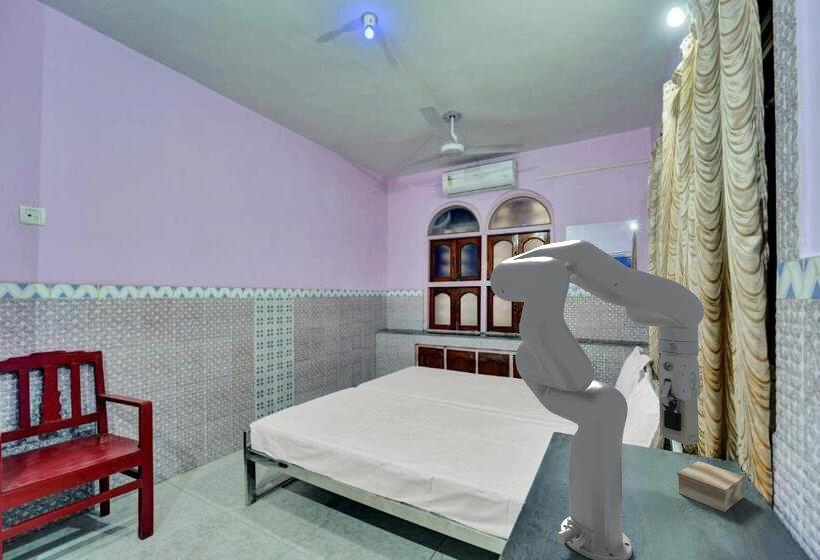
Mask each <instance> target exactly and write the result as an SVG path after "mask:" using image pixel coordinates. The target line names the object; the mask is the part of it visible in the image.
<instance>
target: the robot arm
mask: <svg viewBox="0 0 820 560" xmlns="http://www.w3.org/2000/svg"><path fill="white" fill-rule="evenodd" d="M489 280H490V289H491V290H492V292H493V294H494V295H495V296H497V298H499V299H501V300H503V301H506V302H512V303H513V302H517V303H518V302H519V303H523V306H522V312H521V315H520V316H521V317H520V321H519V334H520V339H521V340H522V342H521V343H520V344H519V346H518V347H517V348H516V352H515V366H516V369H517V372H518V374H519V376H520V378H521V379H522V381H524V382H525V385H526V386H527V387H528V388H529V389H530V391H531V392H532V393H533V394H534V396H535V397H536V399H537V400H538V401H539V402H540V404H541V405H542V406H543V407H544V408H545V409H546V410H547V411H548V412H550V413H551V414H553V415H556V416H557V417H561V418H562V419H566V420H568V421H570V422H572V423H574V424H576V425H577V427H578V428H577V430H576V432H575V433H574V434H573V435H572V437H571V439H570V441H569V445H568V517H567V518H565V519H564V520H563V521H562V522H561V524H560V531H557V532H556V534H555V539H556V541H557V542H558V543H559V544H560V545H564V544H567V545H568V546H569V548H570V549H572V550H573V551H575V552H576V553H578V554H579V555H581V556H583V557H586V558H587V559H590V560H629V559H630V558H631V557H632V554H633V545H632V541H631V540H630V539H629V537H628V536H627V534H625V533H624V532H623V466H622V464H623V462H622V461H623V459H622V458H623V456H622V455H623V438H624V432H625V427H626V426H625V425H626V423H627V418H628V410H629V409H628V408H629V407H628V401H627V399H626V397H625V396H624V394H623V393H622V392H621V391H620V390H619V389H617V388H616V387H614V386H613V385H611V384H608V383H607V382H604V381H600V380H596V379H595V368H594V367H593V364H592V363H593V362H592V361H591V360H590V358H589V356H588V355H587V353H586V352H585V350H584V349H583V347H582V345H581V344H580V343H579V341H578V339H576V337H575V336H574V334H573V332H572V331H571V329H570V327H569V326H568V324H567V322H566V319H565V306H566V300H567V296H568V291H569V288H570V284H573V285H575V286H577V287H578V288H580V289H582V290H584V291H585V292H588V293H589V294H591V295H592V296H594V297H595V298H597V299H599V300H601V301H603V302H605V303H608V304H611V305H614V306H620V307H625V313H626V315H627V317H628V318H629V320H630V321H632V322H633V323H635V324H637V325H641V326H645V327H656V328H658V336H657V337H658V340H657V341H658V345H657V346H658V347H657V349H658V354H660V357H659V367H658V394H659V393H660V395H661V396H660V400H661V401H662V403H663V410H664V427H665V428H668V429H672V430H675V431H681V413H679V409H680V400H681V401H686V400H689V399H691V392H692V390H693V389H697V398H698V397H700V395H701V390H702V389H701V378H700V377H701V376H700V364H699V360H698V358H699V355H700V354H699V325H700V323H701V322H702V321H703V318H704V315H705V310H704V306H703V303H702V301H701V299H699V297H698V296H697V295H696V294H695V293H694V292H693V291H691V290H690V289H689V288H687V287H685V285H682V284H681V283H679V282H677V281H675V280H672V279H671V278H670V279H669V278H666V277H663V276H660V275H657V274H656V275H655V274H653V273H649V272H646V271H642V270H639V269H635V268H631V267H629V266H626V265H625V264H624V263H622V262H621V261H619V260H617V259H616V258H614V257H613V256H612V255H610V254H609V253H607V252H605V251H604V250H603V249H601V248H599V247H598V246H596V245H595V244H593V243H591V242H589V241H586V240H580V239H576V240H569V241H568V240H567V241H562V242H555V243H549V244H546V245H545V244H544V245H542V246H540V247H539V246H538V247H536V248H534V249H531V250H530V251H527V252H524V253H522V254H519V255H516V256H513V257H511V258H508V259H506V260H503V261H502V262H500V263H498V264H497V265H496V266H495V267H494V269H493V271H492V272H491V275H490V279H489ZM670 395H675V397H676V398H672V397H670ZM670 400H672V401H675V405H674V403H673V402H671V401H670Z"/></svg>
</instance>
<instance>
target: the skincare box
mask: <svg viewBox="0 0 820 560" xmlns="http://www.w3.org/2000/svg"><path fill="white" fill-rule="evenodd" d="M660 396H661V395H660V393H659V392H658V398H659V399H658V401H659V402H658V404H659V436H660V437H662V438H666V439H668V440H672V441H673V442H676V443H680V444H682V445H685V446H691V445H695V444H699V443H700V442H699V441H700V440H699V439H700V438H699V409H698V407H699V406H698V405H699V404H698V403H699V402H698V397H697V389H693V390H692V392H691V399H689V400H686V401H681V400H680V409H679V413H681V431H675V430H672V429H668V428H665V427H664V410H663V403H662V401H661V400H660ZM670 397H672V398H676V397H675V395H670ZM670 401H671V402H673V403H674V405H675V401H672V400H670Z"/></svg>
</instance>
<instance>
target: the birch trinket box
mask: <svg viewBox="0 0 820 560" xmlns="http://www.w3.org/2000/svg"><path fill="white" fill-rule="evenodd" d="M676 473H677V476H678V494H680V495H682V496H684V497H688V498H690V499H692V500H694V501H697V502H698V503H699V502H700V503H701V504H705V505H707V506H709V507H712V508H714V509H716V510H719V511H721V512H724V513H725V512H727V511H728V510H730V508H731V507H733V506H734V505H736V503H738V502H739V501H741V500H742V499H743V498H745V496H744V495H745V493H744V492H745V491H744V490H745V489H744V481H745V480H746V477H745V475H741V474H740V473H739V474H738V473H736V472H733V471H730V470H727V469H725V468H721V467H719V466H714V465H711V464H709V463H706V462H702V461H700V460H698V461H696V462H694V463H693V464H691V465H689V466H686V467H685V468H683V469H681V470H680V471H677V472H676Z"/></svg>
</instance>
